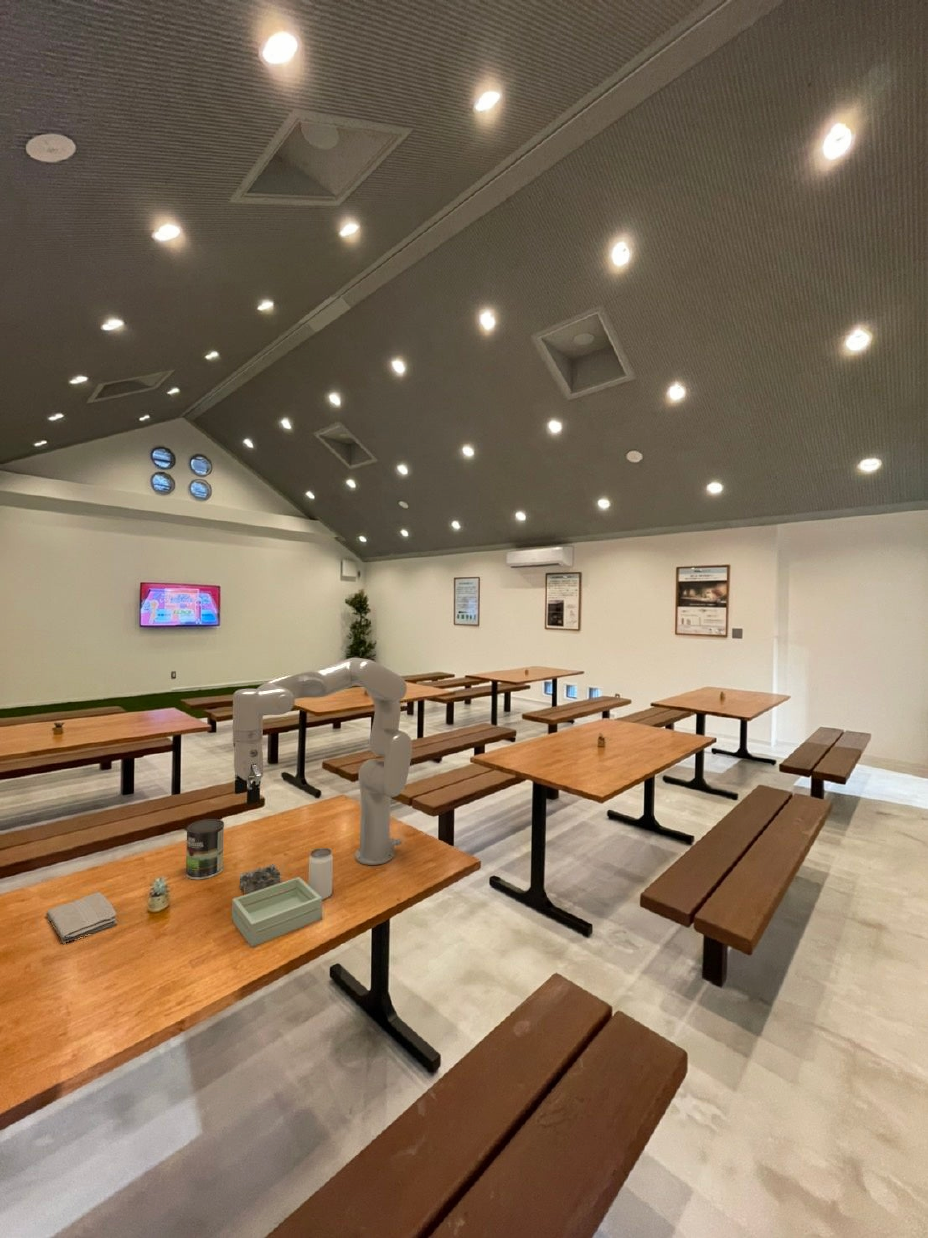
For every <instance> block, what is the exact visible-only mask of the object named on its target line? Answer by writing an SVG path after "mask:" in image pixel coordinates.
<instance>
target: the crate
mask: <svg viewBox="0 0 928 1238" xmlns="http://www.w3.org/2000/svg"><path fill="white" fill-rule="evenodd" d="M322 919H323V900H322V897H321V896H320V895H318V894H317V893H316V892H315V891H314V890H313V889H312V888H311V887H310V886H309V883H307V882H305V881H304V880H303V878H301V877H300V876H298V877H295V878H291V879H289V880H285V881H282V882H279V883H278V884H276V885H273V886H268V887H266V888H264V889H259V890H256V891H254V892H252V893H246V894H243V895H241V896H237V897H235V898H232V900H231V921H232V923H233V924H234V925H235V927H236V928H237V929H238V931H239V932H240V933H241V935H242V937H243V938H244V940H246V942H247V943H248V944H249V946H250V947H251V948H253V947H255V946H259V945H260V944H264V943H265V942H268V941H270V940H273V939H276V938H278V937H281V936H283V935H285V934H288V933H291V932H293V931H295V930H298V929H301V928H302V927H306V926H308V925H310V924H312V923H313V924H314V923H315V922H319V921H320V920H322Z"/></svg>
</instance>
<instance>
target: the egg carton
mask: <svg viewBox="0 0 928 1238" xmlns="http://www.w3.org/2000/svg"><path fill="white" fill-rule="evenodd" d="M282 876H283V875H282V874H281V872H280V870H279V869H278V868H277V867H276V865H275V864H274V863H272V864H270V865H268V866H266V867H263V868H260V867H259V868H257V869H256V870H255V869H254V870H252V871H245V872H243V873H242V874H240V875H239V877H238V879H239V889H240V890H242V889H243V893H244V895H246V894H249V893H252V892H255V891H258V890H261V889H264V888H267V887H270V886H273V885H276V884H279V883H281V877H282Z"/></svg>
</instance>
